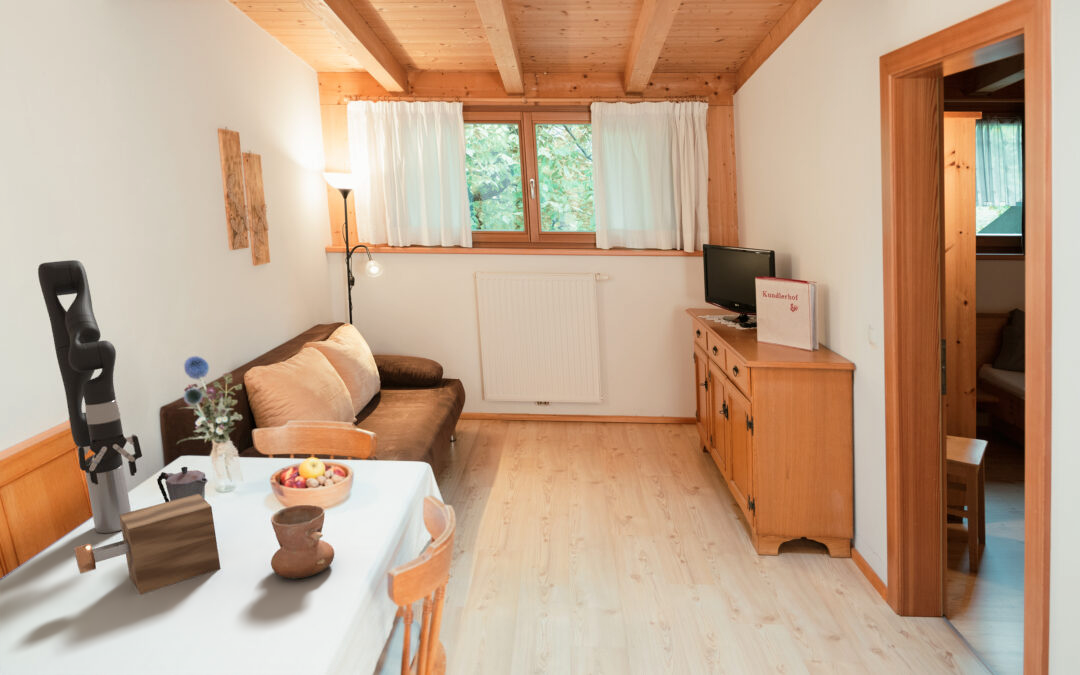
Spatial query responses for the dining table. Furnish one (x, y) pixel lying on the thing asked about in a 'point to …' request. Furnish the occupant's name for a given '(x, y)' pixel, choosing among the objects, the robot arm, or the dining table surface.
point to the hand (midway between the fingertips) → (114, 479)
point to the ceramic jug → (300, 542)
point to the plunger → (98, 554)
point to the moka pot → (182, 484)
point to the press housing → (170, 542)
